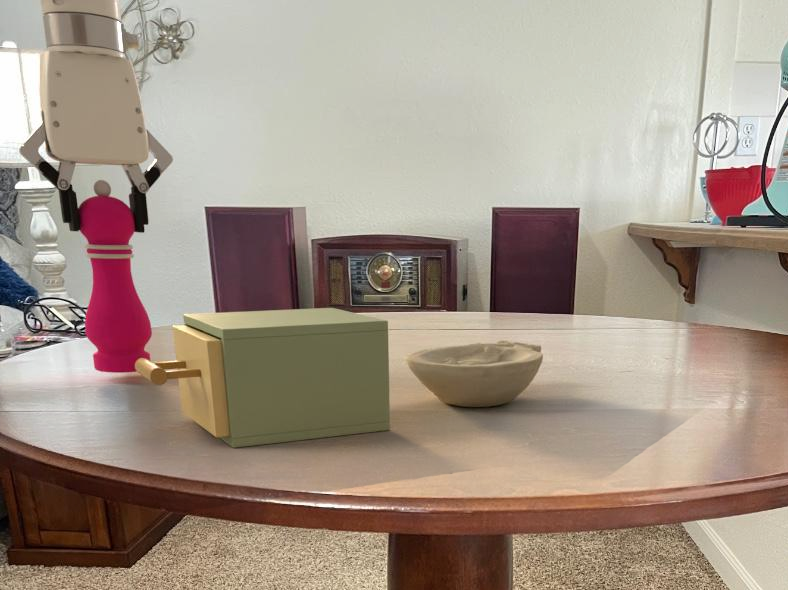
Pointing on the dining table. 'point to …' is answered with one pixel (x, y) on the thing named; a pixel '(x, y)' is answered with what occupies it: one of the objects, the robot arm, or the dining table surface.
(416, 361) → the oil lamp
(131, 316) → the pepper mill
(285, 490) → the dining table surface
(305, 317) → the cabinet
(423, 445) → the dining table surface
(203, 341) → the drawer
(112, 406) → the dining table surface
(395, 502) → the dining table surface
